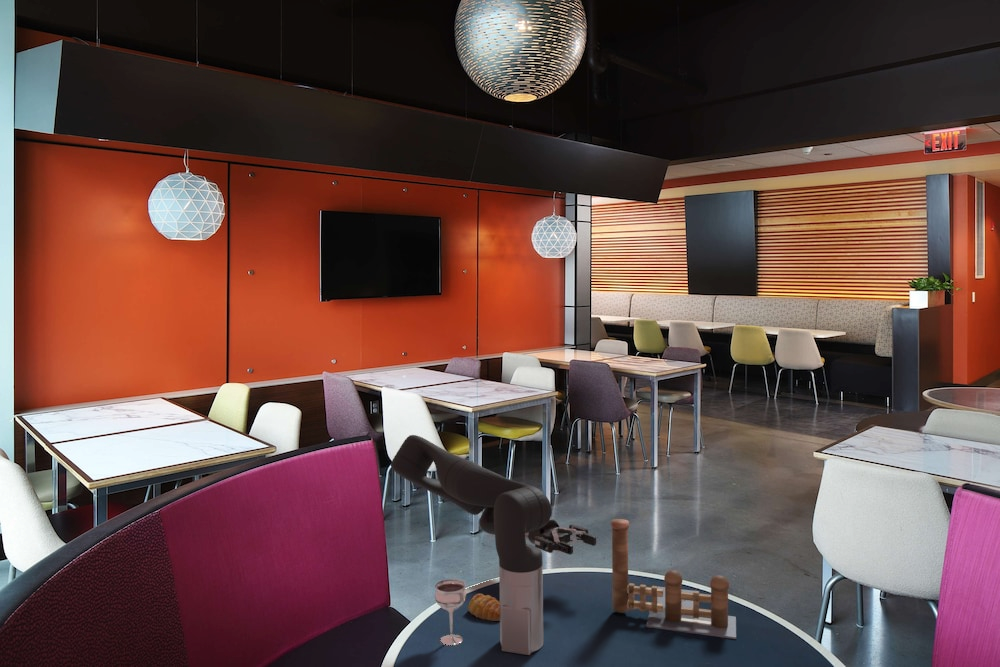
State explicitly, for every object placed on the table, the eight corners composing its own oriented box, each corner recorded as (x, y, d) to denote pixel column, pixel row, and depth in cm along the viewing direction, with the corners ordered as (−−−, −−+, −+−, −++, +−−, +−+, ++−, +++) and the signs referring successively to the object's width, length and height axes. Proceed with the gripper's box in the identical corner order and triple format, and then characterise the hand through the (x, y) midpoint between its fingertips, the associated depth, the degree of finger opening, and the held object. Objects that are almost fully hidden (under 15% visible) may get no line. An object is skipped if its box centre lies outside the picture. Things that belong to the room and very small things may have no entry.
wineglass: (447, 651, 145) (446, 595, 144) (429, 639, 150) (428, 585, 150) (473, 640, 149) (472, 586, 149) (455, 629, 155) (454, 576, 154)
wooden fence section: (663, 610, 160) (663, 522, 159) (662, 618, 156) (662, 528, 155) (613, 604, 164) (612, 518, 163) (610, 611, 160) (609, 523, 159)
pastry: (513, 615, 161) (513, 599, 161) (494, 626, 156) (494, 610, 156) (483, 604, 168) (483, 588, 167) (464, 614, 162) (464, 598, 162)
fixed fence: (728, 631, 152) (729, 580, 151) (663, 622, 156) (663, 573, 156) (728, 623, 156) (729, 573, 155) (665, 615, 160) (665, 566, 159)
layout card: (736, 639, 148) (736, 636, 148) (646, 626, 154) (646, 624, 154) (735, 597, 169) (735, 595, 169) (656, 587, 175) (656, 585, 175)
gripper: (556, 537, 186) (602, 553, 174) (517, 550, 176) (563, 568, 164) (555, 509, 185) (602, 524, 173) (517, 521, 176) (563, 537, 164)
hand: (583, 545), depth 169 cm, fingers open, 8 cm apart
